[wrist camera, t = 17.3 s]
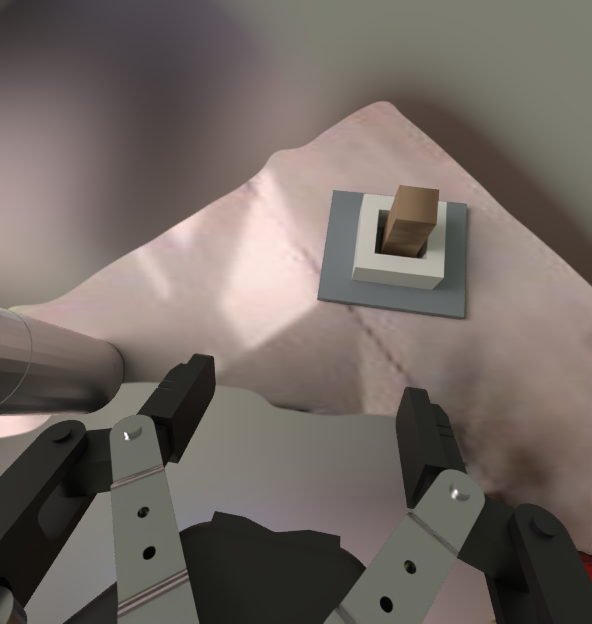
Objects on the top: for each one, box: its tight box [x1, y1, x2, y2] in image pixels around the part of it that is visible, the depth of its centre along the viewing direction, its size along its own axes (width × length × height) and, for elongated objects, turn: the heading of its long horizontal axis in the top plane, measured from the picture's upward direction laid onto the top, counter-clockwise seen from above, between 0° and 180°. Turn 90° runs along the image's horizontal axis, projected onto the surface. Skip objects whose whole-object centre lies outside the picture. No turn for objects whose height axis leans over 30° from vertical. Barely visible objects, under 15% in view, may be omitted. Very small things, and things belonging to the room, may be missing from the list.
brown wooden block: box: [379, 185, 439, 258], centre depth 38 cm, size 4×4×10 cm
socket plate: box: [317, 190, 467, 319], centre depth 42 cm, size 18×16×5 cm
